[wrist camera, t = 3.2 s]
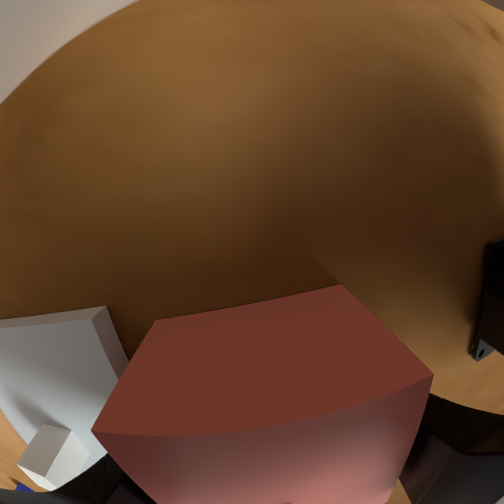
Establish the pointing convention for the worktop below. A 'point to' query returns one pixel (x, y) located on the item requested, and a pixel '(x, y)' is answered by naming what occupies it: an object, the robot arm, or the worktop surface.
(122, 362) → the peg base plate
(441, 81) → the worktop surface
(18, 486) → the bracket
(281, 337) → the pink slotted box
